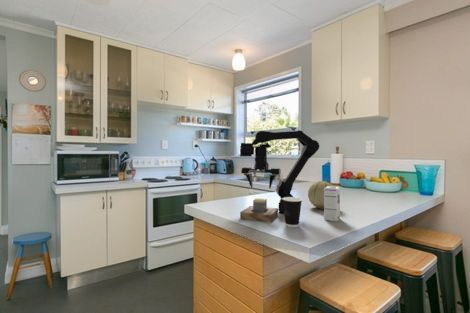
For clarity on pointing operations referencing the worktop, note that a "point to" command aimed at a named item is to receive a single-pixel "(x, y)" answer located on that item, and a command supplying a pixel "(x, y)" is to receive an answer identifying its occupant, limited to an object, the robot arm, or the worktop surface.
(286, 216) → the dixie cup
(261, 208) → the plug
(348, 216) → the worktop surface
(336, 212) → the syrup box
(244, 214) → the socket block
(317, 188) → the cantaloupe
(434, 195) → the worktop surface
